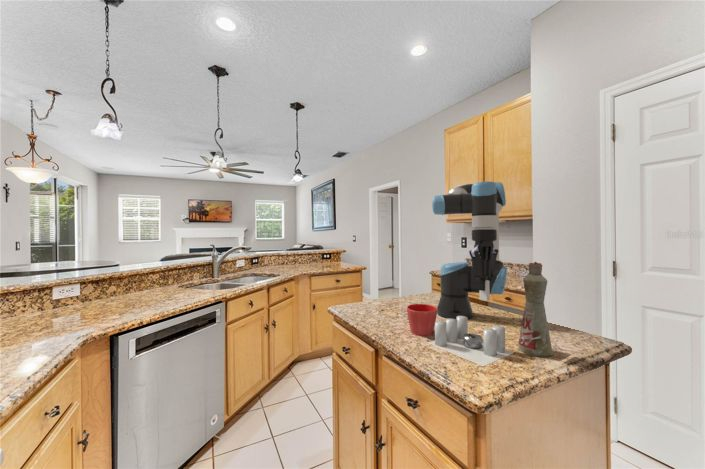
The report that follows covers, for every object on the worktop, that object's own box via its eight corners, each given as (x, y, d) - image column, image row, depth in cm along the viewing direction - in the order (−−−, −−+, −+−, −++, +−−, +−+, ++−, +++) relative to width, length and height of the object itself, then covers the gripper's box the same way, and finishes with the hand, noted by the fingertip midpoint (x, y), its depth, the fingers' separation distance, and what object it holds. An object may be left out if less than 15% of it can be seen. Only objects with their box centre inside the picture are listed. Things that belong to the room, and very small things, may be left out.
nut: (470, 341, 95) (470, 332, 95) (486, 346, 90) (485, 337, 90) (459, 345, 92) (459, 335, 92) (475, 351, 87) (475, 341, 87)
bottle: (557, 361, 81) (556, 263, 81) (521, 357, 84) (520, 262, 84) (548, 349, 89) (547, 260, 89) (515, 345, 92) (514, 259, 92)
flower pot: (439, 340, 98) (438, 312, 98) (406, 338, 100) (406, 310, 100) (436, 329, 108) (436, 304, 108) (407, 328, 111) (406, 303, 110)
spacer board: (458, 334, 103) (458, 313, 103) (514, 354, 86) (514, 329, 86) (427, 344, 94) (427, 321, 94) (483, 368, 77) (482, 340, 77)
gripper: (485, 229, 101) (485, 295, 101) (461, 229, 94) (462, 300, 94) (506, 228, 95) (506, 299, 95) (482, 228, 88) (483, 305, 88)
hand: (484, 299), depth 94 cm, fingers closed
